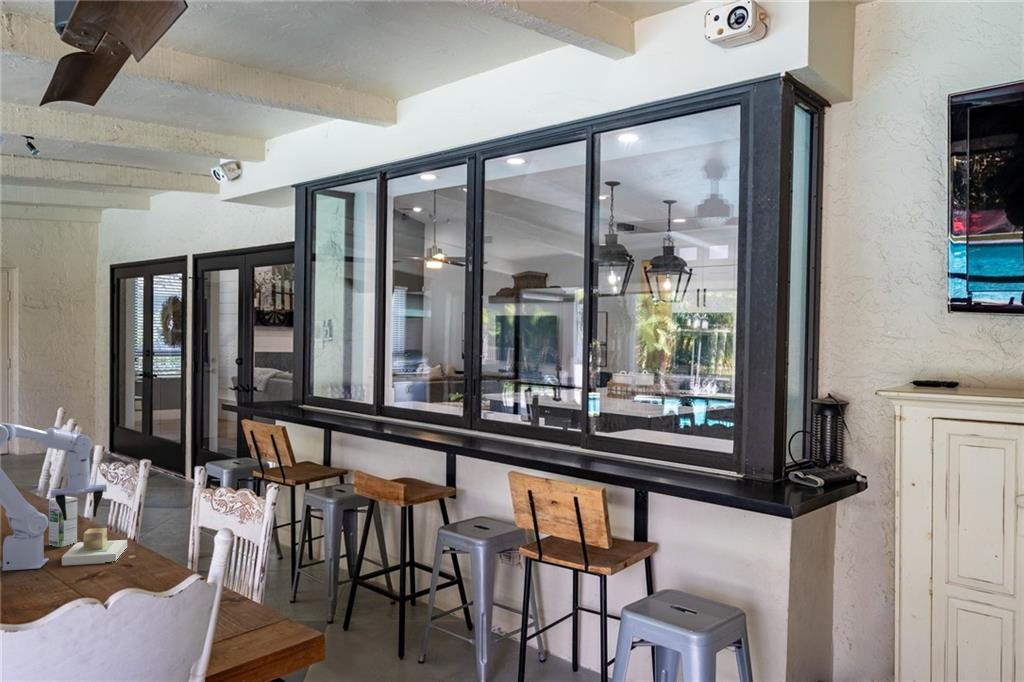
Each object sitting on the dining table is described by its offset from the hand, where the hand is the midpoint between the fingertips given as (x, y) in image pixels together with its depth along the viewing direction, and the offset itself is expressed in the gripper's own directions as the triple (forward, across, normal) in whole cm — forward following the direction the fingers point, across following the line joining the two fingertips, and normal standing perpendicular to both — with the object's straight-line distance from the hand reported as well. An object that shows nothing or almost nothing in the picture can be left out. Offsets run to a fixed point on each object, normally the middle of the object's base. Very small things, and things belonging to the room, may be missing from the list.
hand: (80, 517), depth 229 cm
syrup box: (+11, -5, +11) cm, 16 cm away
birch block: (+8, +4, -7) cm, 11 cm away
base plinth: (+10, +4, -7) cm, 13 cm away
